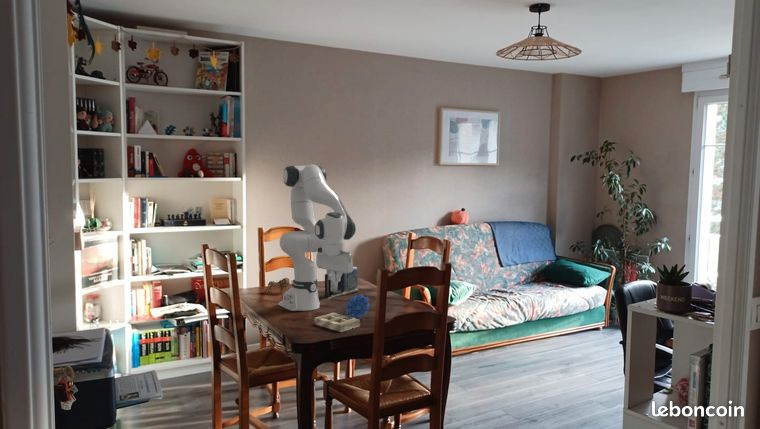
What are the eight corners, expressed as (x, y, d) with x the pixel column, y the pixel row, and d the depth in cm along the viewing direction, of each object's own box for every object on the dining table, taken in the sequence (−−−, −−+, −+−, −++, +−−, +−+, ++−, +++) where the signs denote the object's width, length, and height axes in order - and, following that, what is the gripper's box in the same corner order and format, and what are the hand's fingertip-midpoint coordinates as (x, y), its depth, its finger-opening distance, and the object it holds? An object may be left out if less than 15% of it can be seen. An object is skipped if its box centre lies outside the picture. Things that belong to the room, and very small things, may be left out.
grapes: (369, 316, 269) (369, 291, 268) (370, 320, 262) (370, 295, 261) (344, 316, 267) (344, 292, 266) (345, 320, 261) (345, 295, 259)
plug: (329, 290, 248) (329, 268, 247) (334, 289, 250) (334, 267, 249) (334, 292, 246) (334, 269, 245) (339, 290, 248) (339, 268, 247)
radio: (327, 299, 301) (327, 271, 300) (318, 295, 308) (318, 269, 306) (361, 292, 316) (361, 266, 315) (352, 290, 323) (352, 264, 321)
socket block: (314, 324, 255) (314, 317, 254) (333, 318, 264) (333, 312, 263) (341, 332, 244) (341, 324, 243) (360, 326, 253) (360, 319, 252)
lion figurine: (290, 292, 314) (290, 276, 313) (288, 295, 309) (288, 278, 308) (265, 291, 316) (265, 275, 315) (262, 293, 311) (262, 277, 310)
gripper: (356, 251, 242) (356, 283, 243) (324, 246, 255) (324, 276, 257) (345, 253, 237) (345, 285, 238) (313, 247, 251) (313, 278, 252)
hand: (334, 280), depth 248 cm, fingers closed on plug, 3 cm apart
